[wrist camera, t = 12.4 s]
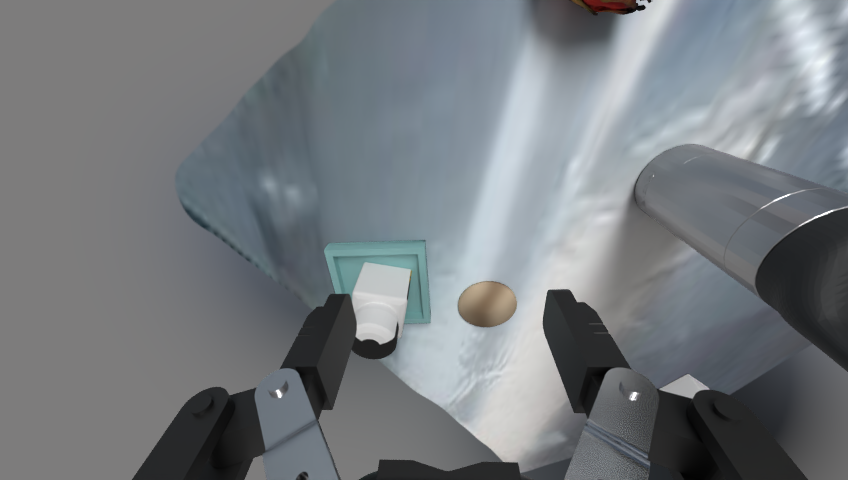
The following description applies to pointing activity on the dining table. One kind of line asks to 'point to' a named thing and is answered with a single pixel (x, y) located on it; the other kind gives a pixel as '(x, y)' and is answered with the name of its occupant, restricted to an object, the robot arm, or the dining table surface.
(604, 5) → the dragon fruit
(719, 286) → the dining table surface
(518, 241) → the dining table surface
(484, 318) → the cork coaster
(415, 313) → the tray
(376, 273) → the medicine bottle
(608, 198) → the dining table surface
